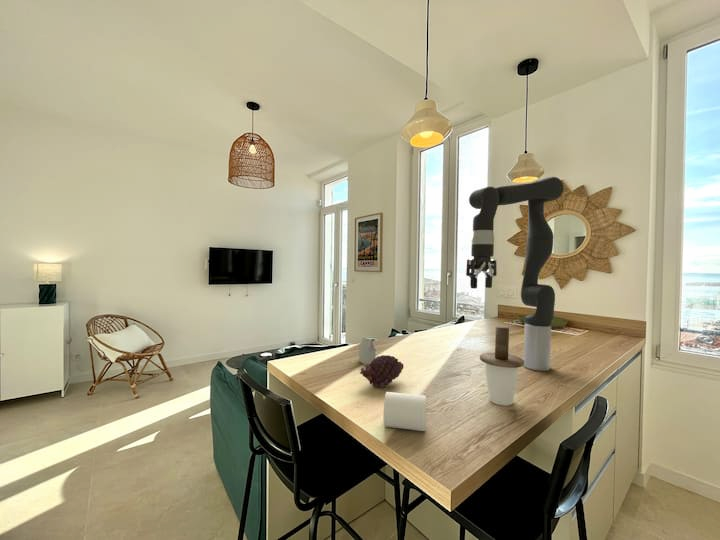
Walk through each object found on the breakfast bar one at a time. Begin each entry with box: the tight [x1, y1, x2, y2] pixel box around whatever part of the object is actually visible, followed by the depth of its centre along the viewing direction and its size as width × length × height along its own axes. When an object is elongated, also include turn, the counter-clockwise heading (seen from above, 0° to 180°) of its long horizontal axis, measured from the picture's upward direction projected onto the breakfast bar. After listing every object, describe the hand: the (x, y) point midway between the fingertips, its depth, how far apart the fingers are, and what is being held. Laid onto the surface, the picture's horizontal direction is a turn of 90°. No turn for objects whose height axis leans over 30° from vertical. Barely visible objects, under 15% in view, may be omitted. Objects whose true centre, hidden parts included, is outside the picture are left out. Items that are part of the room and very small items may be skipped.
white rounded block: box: [382, 391, 427, 432], centre depth 79 cm, size 12×10×8 cm
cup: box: [484, 363, 519, 407], centre depth 93 cm, size 9×9×12 cm
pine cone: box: [359, 354, 405, 388], centre depth 103 cm, size 18×10×10 cm, turn 126°
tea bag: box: [358, 336, 377, 366], centre depth 126 cm, size 4×7×10 cm, turn 30°
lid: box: [479, 325, 525, 369], centre depth 93 cm, size 12×12×10 cm
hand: (481, 288), depth 114 cm, fingers open, 8 cm apart
